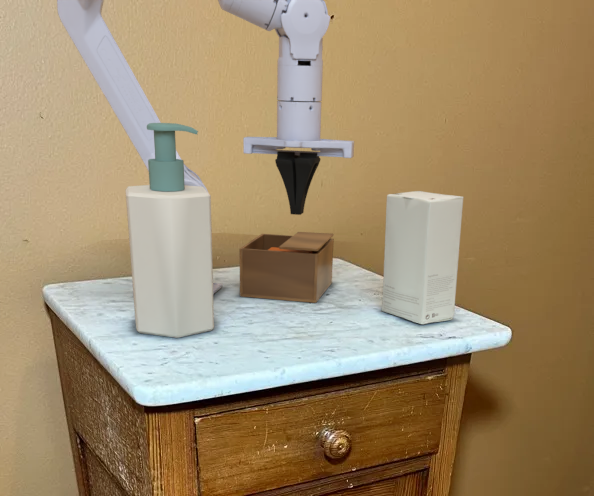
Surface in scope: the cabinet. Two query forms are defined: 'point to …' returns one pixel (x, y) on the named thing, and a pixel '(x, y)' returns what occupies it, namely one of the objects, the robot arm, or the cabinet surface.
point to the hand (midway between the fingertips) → (297, 213)
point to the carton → (284, 270)
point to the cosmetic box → (421, 255)
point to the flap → (306, 241)
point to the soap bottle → (170, 245)
